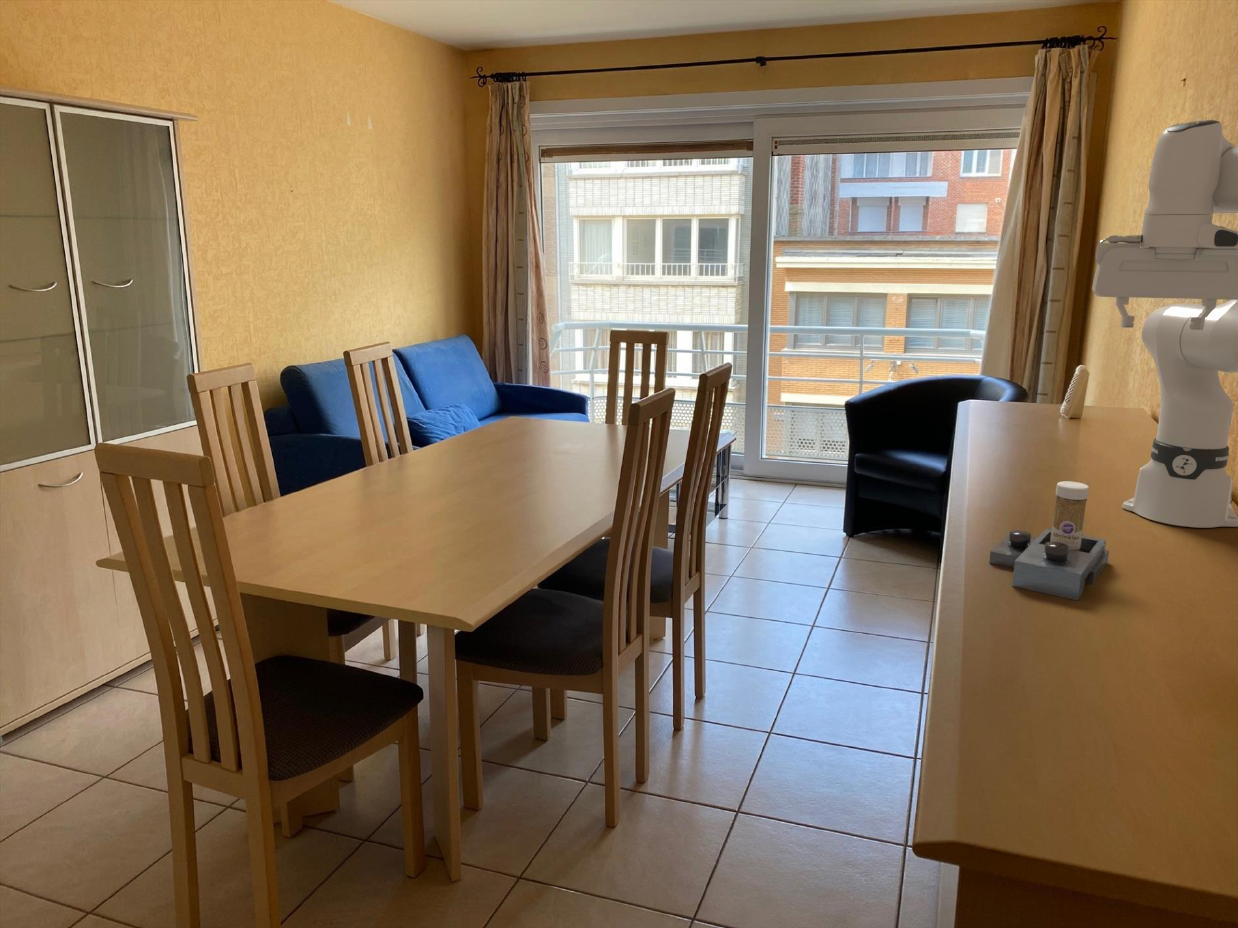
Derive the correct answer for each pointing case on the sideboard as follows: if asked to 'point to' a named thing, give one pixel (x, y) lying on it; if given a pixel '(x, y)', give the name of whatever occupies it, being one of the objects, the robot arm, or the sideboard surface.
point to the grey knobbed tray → (1021, 541)
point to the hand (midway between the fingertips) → (1161, 328)
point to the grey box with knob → (1056, 566)
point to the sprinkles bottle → (1069, 514)
